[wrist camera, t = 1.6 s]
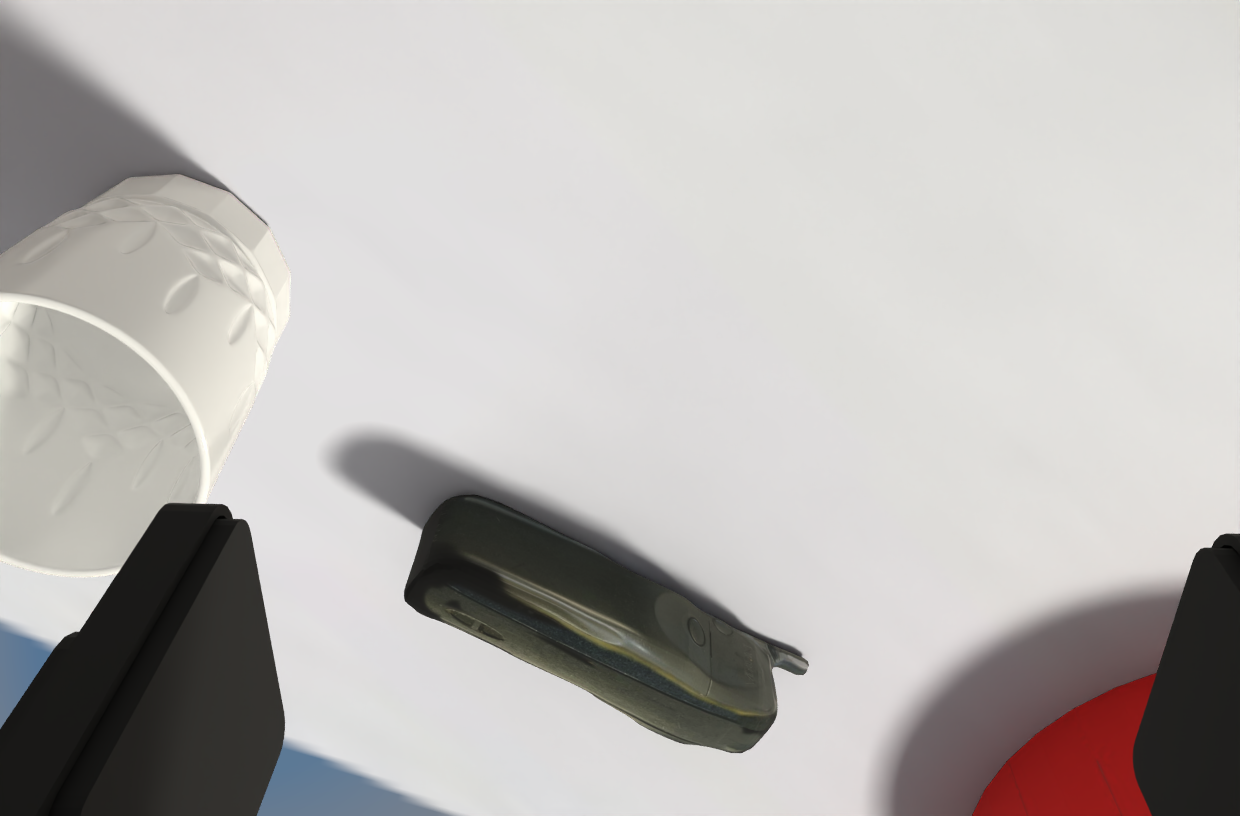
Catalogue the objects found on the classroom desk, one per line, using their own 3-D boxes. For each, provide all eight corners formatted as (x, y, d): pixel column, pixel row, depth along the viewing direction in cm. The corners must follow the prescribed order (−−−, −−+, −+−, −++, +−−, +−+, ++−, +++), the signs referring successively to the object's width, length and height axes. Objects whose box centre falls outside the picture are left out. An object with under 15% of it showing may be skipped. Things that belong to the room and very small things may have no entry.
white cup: (38, 338, 37) (-145, 520, 29) (75, 111, 34) (-122, 241, 25) (279, 419, 39) (175, 616, 30) (340, 209, 35) (241, 364, 26)
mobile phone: (387, 621, 37) (785, 798, 40) (427, 556, 36) (835, 743, 39) (417, 531, 41) (774, 696, 44) (454, 469, 40) (819, 644, 43)
